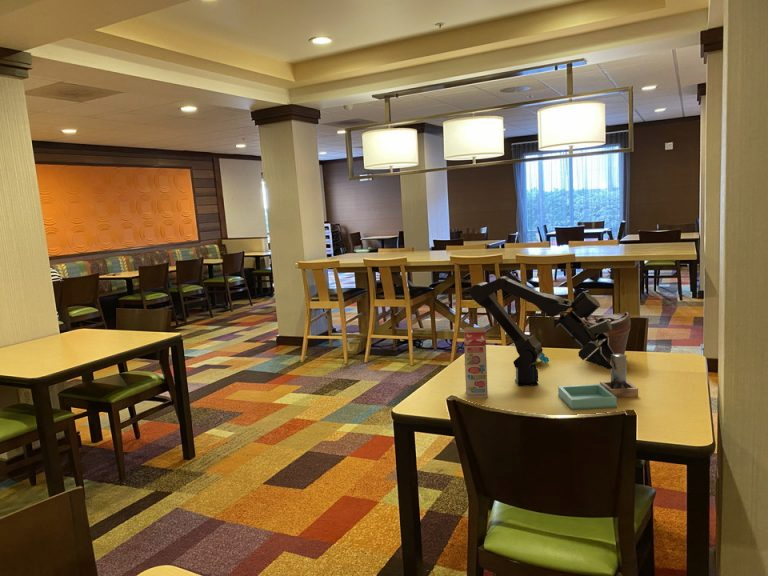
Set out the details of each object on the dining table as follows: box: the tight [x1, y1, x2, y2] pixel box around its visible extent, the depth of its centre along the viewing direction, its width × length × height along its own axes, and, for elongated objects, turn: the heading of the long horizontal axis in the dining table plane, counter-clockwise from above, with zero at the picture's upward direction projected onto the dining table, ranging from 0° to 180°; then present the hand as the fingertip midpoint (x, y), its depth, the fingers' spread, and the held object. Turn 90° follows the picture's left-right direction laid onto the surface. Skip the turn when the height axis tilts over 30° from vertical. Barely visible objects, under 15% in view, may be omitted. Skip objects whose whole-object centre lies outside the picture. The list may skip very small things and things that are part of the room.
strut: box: [610, 353, 627, 389], centre depth 182 cm, size 4×4×12 cm
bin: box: [557, 383, 618, 411], centre depth 177 cm, size 13×13×3 cm
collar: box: [599, 379, 639, 399], centre depth 183 cm, size 8×8×2 cm
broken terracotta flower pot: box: [579, 311, 632, 364], centre depth 220 cm, size 18×20×18 cm
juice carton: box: [463, 326, 489, 399], centre depth 187 cm, size 7×7×22 cm
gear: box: [538, 352, 550, 363], centre depth 221 cm, size 11×6×10 cm
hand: (614, 364), depth 182 cm, fingers open, 9 cm apart
